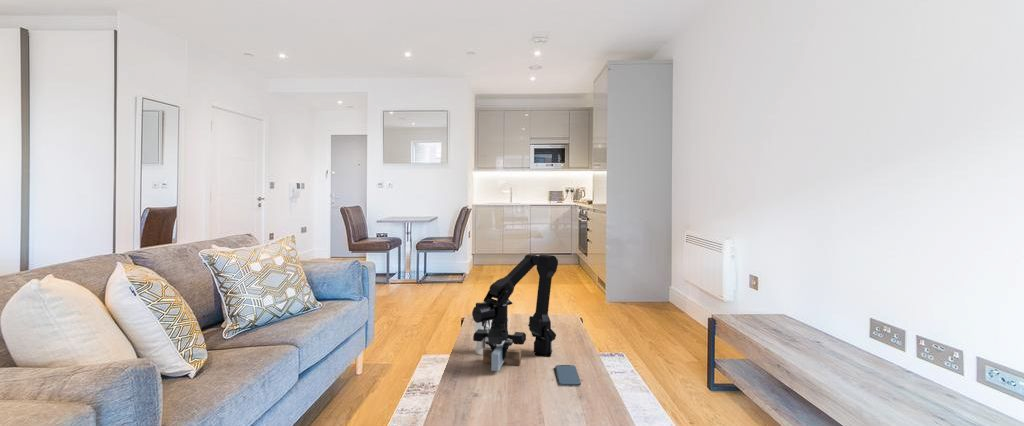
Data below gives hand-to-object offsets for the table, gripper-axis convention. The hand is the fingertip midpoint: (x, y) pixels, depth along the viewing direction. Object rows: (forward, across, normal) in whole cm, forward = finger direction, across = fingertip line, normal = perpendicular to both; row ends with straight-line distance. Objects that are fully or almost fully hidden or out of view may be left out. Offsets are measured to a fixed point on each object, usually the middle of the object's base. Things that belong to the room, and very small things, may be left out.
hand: (499, 359), depth 156 cm
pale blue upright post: (+1, 0, 0) cm, 1 cm away
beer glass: (+3, -10, +13) cm, 17 cm away
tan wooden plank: (+3, 0, +4) cm, 5 cm away
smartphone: (+3, +25, -3) cm, 26 cm away
